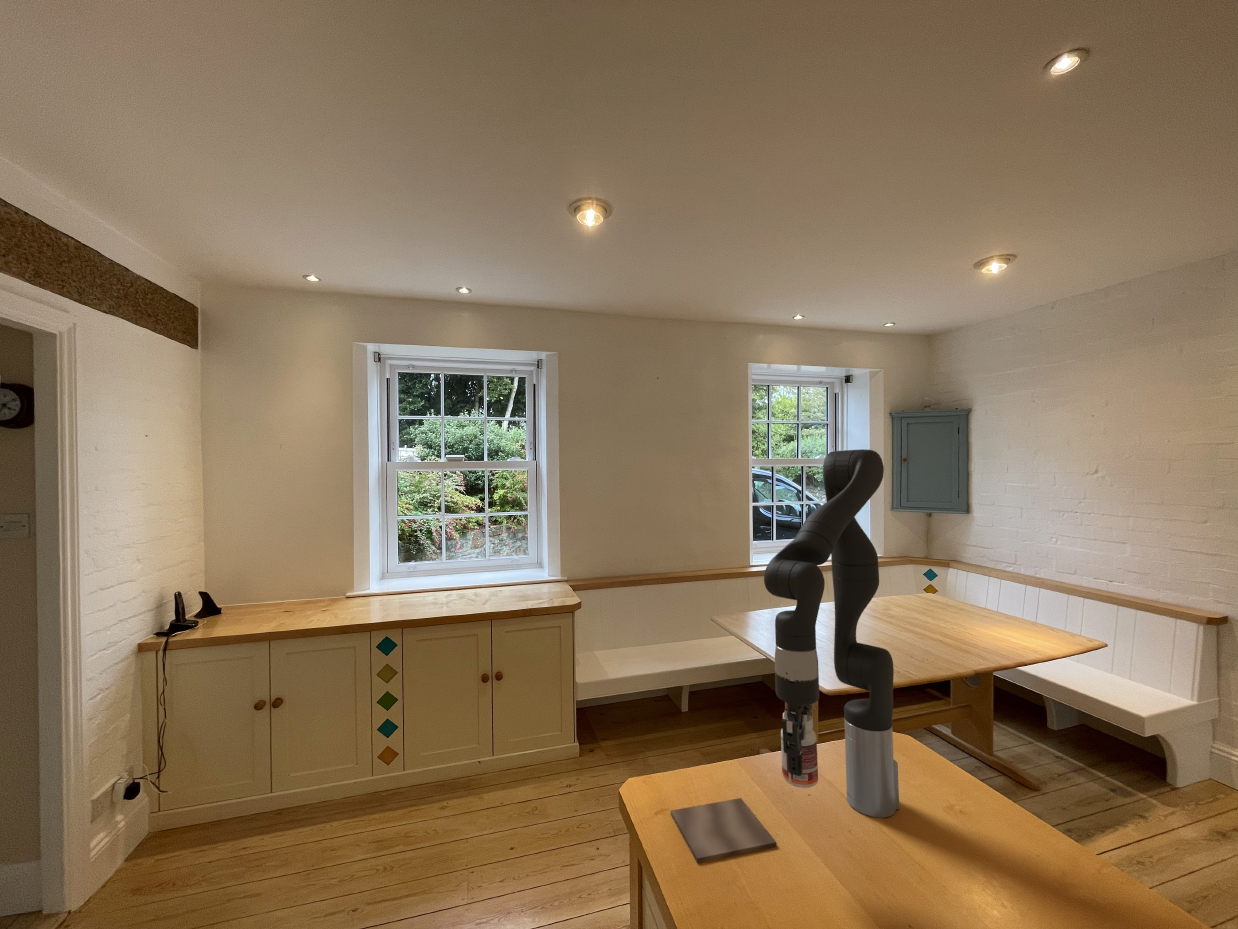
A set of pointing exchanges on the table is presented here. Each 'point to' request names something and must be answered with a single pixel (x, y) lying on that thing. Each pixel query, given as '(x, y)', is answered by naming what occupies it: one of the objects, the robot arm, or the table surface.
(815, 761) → the pill bottle
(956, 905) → the table surface
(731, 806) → the walnut board
